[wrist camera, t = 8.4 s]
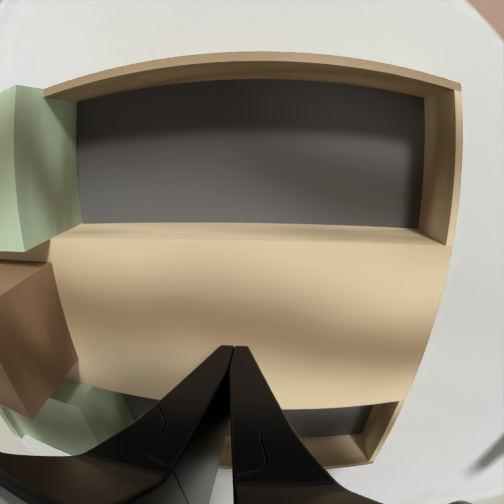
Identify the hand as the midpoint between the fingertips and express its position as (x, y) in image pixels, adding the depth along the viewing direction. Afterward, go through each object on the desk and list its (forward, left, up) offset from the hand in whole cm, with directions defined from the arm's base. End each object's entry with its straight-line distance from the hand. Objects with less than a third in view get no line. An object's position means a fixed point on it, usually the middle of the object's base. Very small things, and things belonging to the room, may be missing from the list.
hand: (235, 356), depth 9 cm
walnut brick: (0, +11, -1) cm, 11 cm away
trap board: (0, +4, -4) cm, 5 cm away
